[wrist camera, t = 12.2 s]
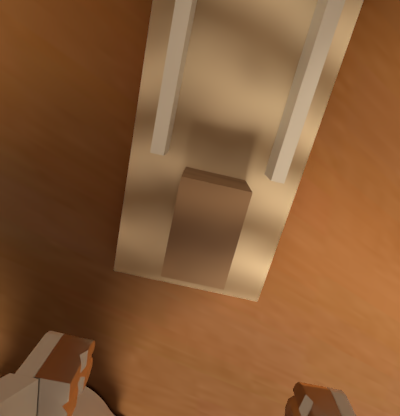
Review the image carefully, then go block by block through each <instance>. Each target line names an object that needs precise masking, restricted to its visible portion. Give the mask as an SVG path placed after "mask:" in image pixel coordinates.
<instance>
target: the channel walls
mask: <svg viewBox="0 0 400 416" xmlns="http://www.w3.org/2000/svg"><path fill="white" fill-rule="evenodd" d="M344 3H345V0H318V1H317V4H316V8H315V11H314V14H313V17H312V21H311V24H310V27H309V30H308V34H307V37H306V40H305V43H304V47H303V50H302V53H301V56H300V60H299V63H298V66H297V69H296V73H295V76H294V79H293V82H292V86H291V89H290V92H289V95H288V99H287V102H286V105H285V108H284V112H283V115H282V118H281V122H280V125H279V128H278V131H277V135H276V138H275V141H274V144H273V148H272V151H271V154H270V157H269V161H268V164H267V167H266V170H265V175H266V176H267V177H268V178H269V179H270V180H271V181H274V182H278V183H283V184H284V183H285V180H286V177H287V174H288V171H289V168H290V165H291V162H292V159H293V156H294V153H295V150H296V147H297V144H298V141H299V138H300V135H301V132H302V129H303V126H304V123H305V120H306V117H307V114H308V111H309V108H310V105H311V102H312V99H313V96H314V93H315V90H316V87H317V84H318V81H319V78H320V75H321V72H322V69H323V66H324V63H325V60H326V57H327V54H328V51H329V48H330V45H331V42H332V39H333V36H334V33H335V30H336V27H337V24H338V21H339V18H340V15H341V12H342V9H343V6H344ZM196 4H197V0H175V6H174V12H173V18H172V24H171V30H170V36H169V42H168V48H167V54H166V60H165V66H164V72H163V78H162V84H161V90H160V96H159V102H158V108H157V114H156V120H155V126H154V132H153V138H152V144H151V150H150V153H154V154H158V155H163V156H164V155H165V154H166V153H168V152H169V147H170V142H171V136H172V131H173V126H174V120H175V115H176V110H177V104H178V99H179V94H180V89H181V83H182V78H183V73H184V67H185V62H186V57H187V51H188V46H189V41H190V36H191V30H192V25H193V20H194V14H195V9H196Z"/></svg>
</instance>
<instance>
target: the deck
mask: <svg viewBox="0 0 400 416" xmlns="http://www.w3.org/2000/svg"><path fill="white" fill-rule="evenodd" d="M317 1H318V0H197V4H196V9H195V14H194V20H193V25H192V30H191V36H190V41H189V46H188V51H187V57H186V62H185V67H184V73H183V78H182V83H181V89H180V94H179V99H178V104H177V110H176V115H175V120H174V126H173V131H172V136H171V142H170V147H169V152H168V153H166V154H165V155H164V156H163V155H158V154H154V153H150V150H151V144H152V138H153V132H154V126H155V120H156V114H157V108H158V102H159V96H160V90H161V84H162V78H163V72H164V66H165V60H166V54H167V48H168V42H169V36H170V30H171V24H172V18H173V12H174V6H175V0H153V1H152V8H151V15H150V22H149V29H148V36H147V43H146V50H145V57H144V63H143V70H142V77H141V84H140V91H139V98H138V105H137V112H136V119H135V125H134V132H133V139H132V146H131V153H130V160H129V167H128V174H127V181H126V188H125V194H124V201H123V208H122V215H121V222H120V229H119V236H118V243H117V250H116V257H115V263H114V270H113V271H116V272H121V273H126V274H130V275H135V276H140V277H144V278H149V279H154V280H158V281H163V282H168V283H172V284H177V285H182V286H186V287H191V288H196V289H200V290H205V291H210V292H214V293H219V294H224V295H228V296H233V297H238V298H242V299H247V300H252V301H256V302H258V299H259V296H260V293H261V290H262V288H263V285H264V282H265V279H266V276H267V273H268V271H269V268H270V265H271V262H272V259H273V256H274V253H275V251H276V248H277V245H278V242H279V239H280V236H281V234H282V231H283V228H284V225H285V222H286V219H287V217H288V214H289V211H290V208H291V205H292V202H293V200H294V197H295V194H296V191H297V188H298V185H299V182H300V180H301V177H302V174H303V171H304V168H305V165H306V163H307V160H308V157H309V154H310V151H311V148H312V146H313V143H314V140H315V137H316V134H317V131H318V129H319V126H320V123H321V120H322V117H323V114H324V111H325V109H326V106H327V103H328V100H329V97H330V94H331V92H332V89H333V86H334V83H335V80H336V77H337V75H338V72H339V69H340V66H341V63H342V60H343V58H344V55H345V52H346V49H347V46H348V43H349V41H350V38H351V35H352V32H353V29H354V26H355V23H356V21H357V18H358V15H359V12H360V9H361V6H362V4H363V1H364V0H345V3H344V6H343V9H342V12H341V15H340V18H339V21H338V24H337V27H336V30H335V33H334V36H333V39H332V42H331V45H330V48H329V51H328V54H327V57H326V60H325V63H324V66H323V69H322V72H321V75H320V78H319V81H318V84H317V87H316V90H315V93H314V96H313V99H312V102H311V105H310V108H309V111H308V114H307V117H306V120H305V123H304V126H303V129H302V132H301V135H300V138H299V141H298V144H297V147H296V150H295V153H294V156H293V159H292V162H291V165H290V168H289V171H288V174H287V177H286V180H285V183H284V184H283V183H278V182H274V181H271V180H270V179H269V178H268V177H267V176H266V175H265V170H266V167H267V164H268V161H269V157H270V154H271V151H272V148H273V144H274V141H275V138H276V135H277V131H278V128H279V125H280V122H281V118H282V115H283V112H284V108H285V105H286V102H287V99H288V95H289V92H290V89H291V86H292V82H293V79H294V76H295V73H296V69H297V66H298V63H299V60H300V56H301V53H302V50H303V47H304V43H305V40H306V37H307V34H308V30H309V27H310V24H311V21H312V17H313V14H314V11H315V8H316V4H317ZM186 167H190V168H194V169H199V170H203V171H207V172H212V173H216V174H220V175H225V176H229V177H234V178H238V179H242V180H245V181H246V182H247V184H248V186H249V187H250V189H251V191H252V192H253V193H252V196H251V200H250V203H249V206H248V210H247V213H246V216H245V220H244V223H243V227H242V230H241V233H240V237H239V240H238V244H237V247H236V250H235V254H234V257H233V260H232V264H231V267H230V271H229V274H228V277H227V281H226V284H225V287H224V290H223V289H218V288H213V287H209V286H204V285H199V284H195V283H190V282H185V281H180V280H176V279H171V278H166V277H162V276H161V272H162V268H163V263H164V258H165V253H166V248H167V243H168V238H169V233H170V229H171V224H172V219H173V214H174V209H175V204H176V199H177V194H178V190H179V185H180V180H181V176H182V174H183V172H184V170H185V168H186Z"/></svg>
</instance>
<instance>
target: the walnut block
mask: <svg viewBox="0 0 400 416" xmlns="http://www.w3.org/2000/svg"><path fill="white" fill-rule="evenodd" d="M252 193H253V192H252V191H251V189H250V187H249V186H248V184H247V182H246V181H245V180H242V179H238V178H234V177H229V176H225V175H220V174H216V173H212V172H207V171H203V170H199V169H194V168H190V167H186V168H185V170H184V172H183V174H182V176H181V180H180V185H179V190H178V194H177V199H176V204H175V209H174V214H173V219H172V224H171V229H170V233H169V238H168V243H167V248H166V253H165V258H164V263H163V268H162V272H161V276H162V277H166V278H171V279H176V280H180V281H185V282H190V283H195V284H199V285H204V286H209V287H213V288H218V289H223V290H224V287H225V284H226V281H227V277H228V274H229V271H230V267H231V264H232V260H233V257H234V254H235V250H236V247H237V244H238V240H239V237H240V233H241V230H242V227H243V223H244V220H245V216H246V213H247V210H248V206H249V203H250V200H251V196H252Z"/></svg>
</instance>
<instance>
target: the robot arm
mask: <svg viewBox="0 0 400 416" xmlns="http://www.w3.org/2000/svg"><path fill="white" fill-rule="evenodd" d="M94 349H95V341H94V340H90V339H86V338H81V337H77V336H73V335H69V334H63V333H59V332H55V331H49V332H47V333H46V334H45V335H44V336H43V337H42V339H41V340H40V341H39V343H38V344H37V345H36V347H35V348H34V349H33V351H32V352H31V353H30V354H29V356H28V357H27V358H26V360H25V361H24V362H23V364H22V365H21V366H20V367H19V369H18V370H17V371H16V373H15V374H12V373H9V374H7V375H5V376H3V377H2V378H0V416H115V415H114V414H113V413H112V412H111V411H110V410H109V408H108V406H107V405H106V404H105V402H104V401H103V400H102V399H101V398H100V397H99V396H98V395H97V394H96V393H95V392H94V391H92V390H91V389H90V388H88V387H86V383H87V381H88V378H89V375H90V372H91V368H92V363H93V358H92V357H91V355H92V353H93V351H94ZM293 392H294V396H292V397H291V398H289V399H288V401H287V404H286V407H285V416H356V415H355V413H354V411H353V409H352V407H351V405H350V403H349V401H348V399H347V397H346V395H345V393H344V392H343V391H342V390H337V389H332V388H326V387H323V386H317V385H312V384H307V383H302V382H298V383H296V384H295V386H294V388H293Z"/></svg>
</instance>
